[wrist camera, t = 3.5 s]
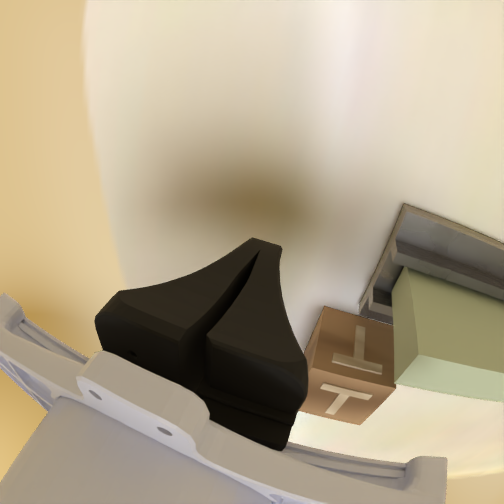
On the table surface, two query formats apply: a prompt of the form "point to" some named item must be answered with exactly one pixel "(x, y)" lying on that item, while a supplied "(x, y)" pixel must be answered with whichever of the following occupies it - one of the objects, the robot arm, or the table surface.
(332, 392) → the block
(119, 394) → the robot arm
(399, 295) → the pale green long bar
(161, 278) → the table surface
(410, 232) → the track
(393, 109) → the table surface
